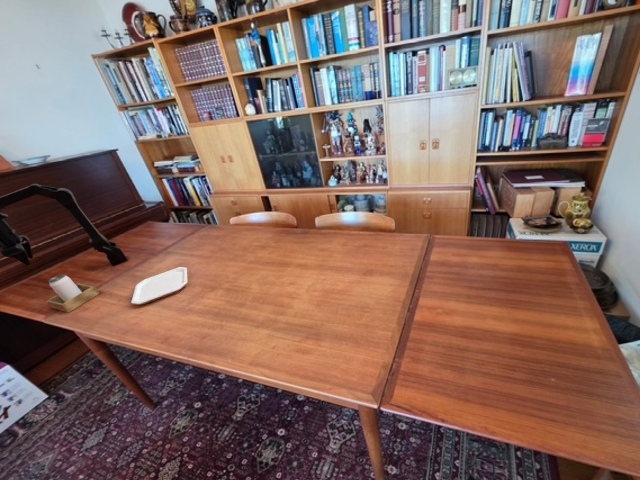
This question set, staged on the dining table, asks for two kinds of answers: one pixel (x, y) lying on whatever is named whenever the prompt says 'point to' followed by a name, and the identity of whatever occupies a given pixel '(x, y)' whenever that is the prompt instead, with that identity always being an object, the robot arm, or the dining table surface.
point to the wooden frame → (74, 298)
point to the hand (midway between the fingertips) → (30, 261)
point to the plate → (160, 286)
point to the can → (64, 287)
